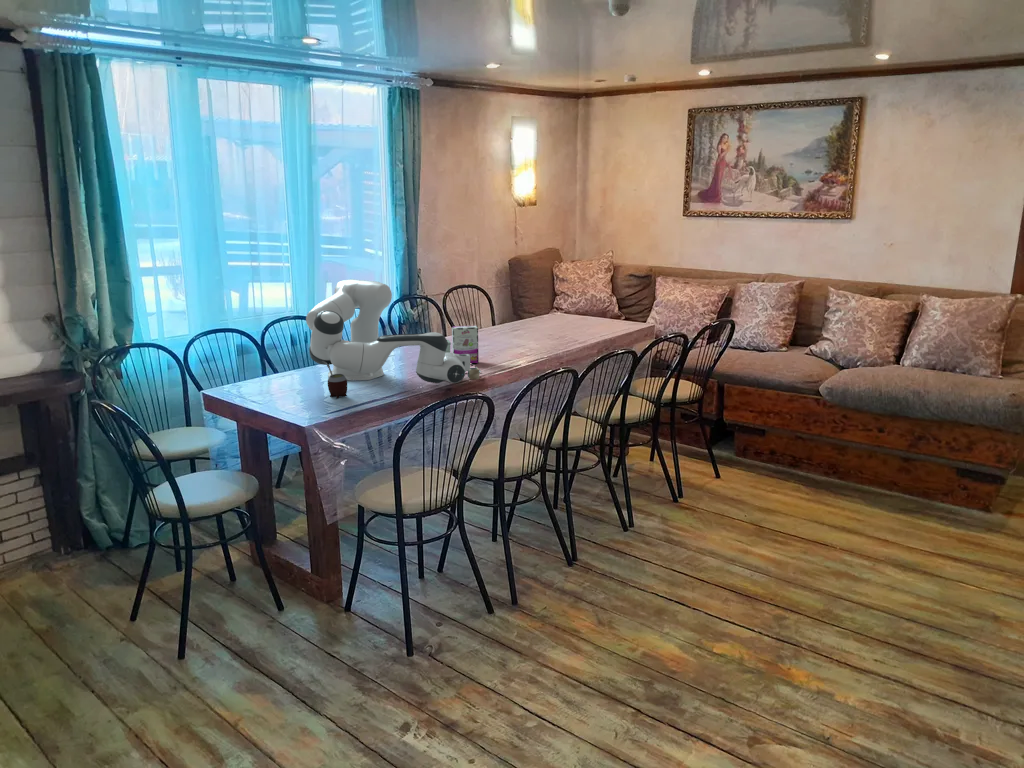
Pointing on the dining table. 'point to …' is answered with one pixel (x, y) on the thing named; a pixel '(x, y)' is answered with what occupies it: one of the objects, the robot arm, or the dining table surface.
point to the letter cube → (473, 373)
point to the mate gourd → (337, 384)
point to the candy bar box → (466, 341)
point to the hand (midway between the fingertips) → (442, 356)
